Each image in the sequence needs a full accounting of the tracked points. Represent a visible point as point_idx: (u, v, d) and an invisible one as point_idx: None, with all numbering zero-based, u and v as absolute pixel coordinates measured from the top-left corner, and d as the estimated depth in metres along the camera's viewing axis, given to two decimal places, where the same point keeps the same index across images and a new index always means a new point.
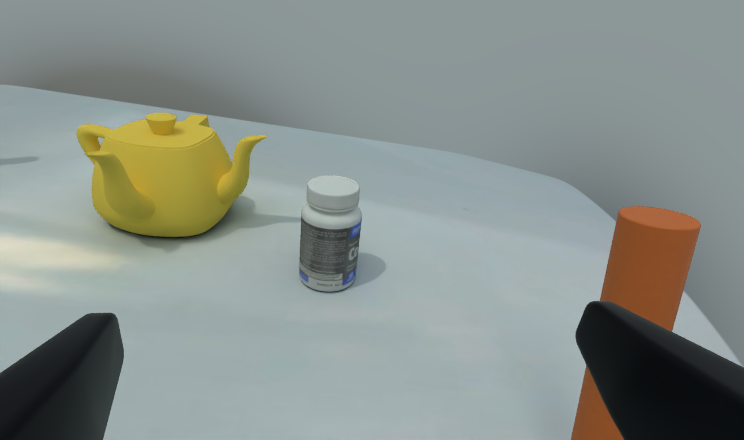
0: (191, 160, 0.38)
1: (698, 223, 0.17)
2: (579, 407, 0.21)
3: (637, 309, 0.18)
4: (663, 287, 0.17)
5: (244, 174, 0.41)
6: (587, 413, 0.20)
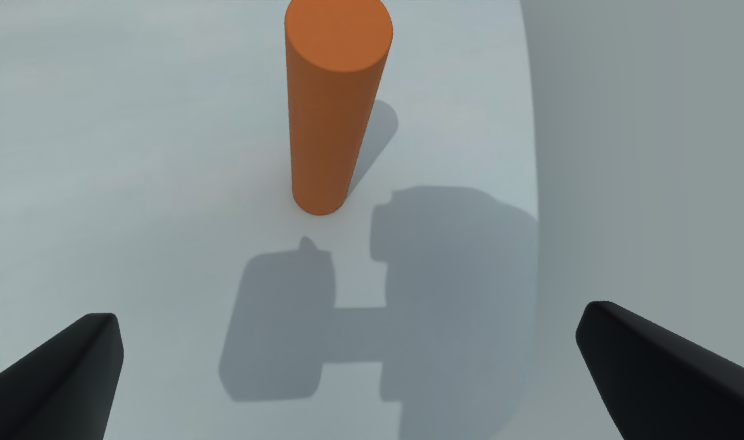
0: None
1: (387, 42, 0.12)
2: (291, 168, 0.20)
3: (317, 132, 0.14)
4: (342, 118, 0.13)
5: None
6: (295, 180, 0.20)
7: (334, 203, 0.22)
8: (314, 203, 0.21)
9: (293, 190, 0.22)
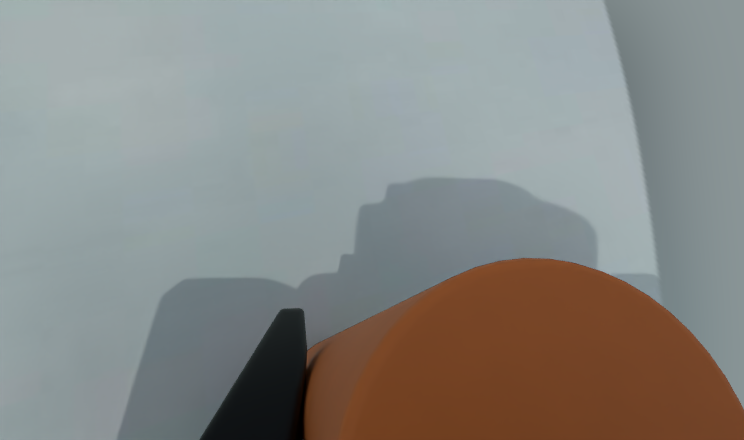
0: None
1: None
2: None
3: None
4: None
5: None
6: None
7: None
8: None
9: None
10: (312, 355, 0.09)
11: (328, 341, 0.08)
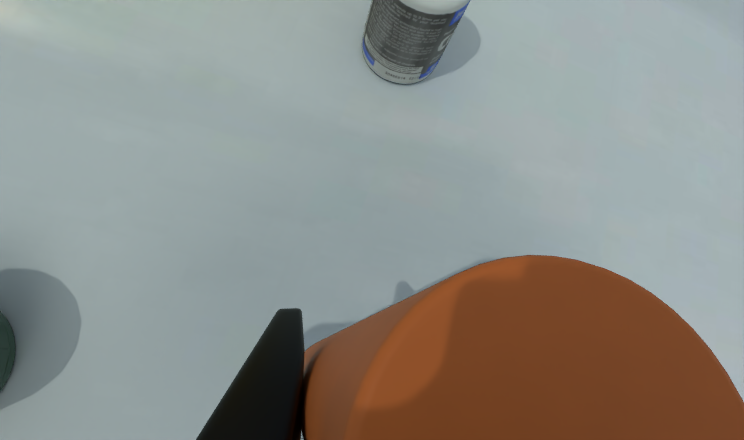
0: None
1: None
2: None
3: None
4: None
5: None
6: None
7: None
8: None
9: None
10: (312, 354, 0.09)
11: (328, 340, 0.08)
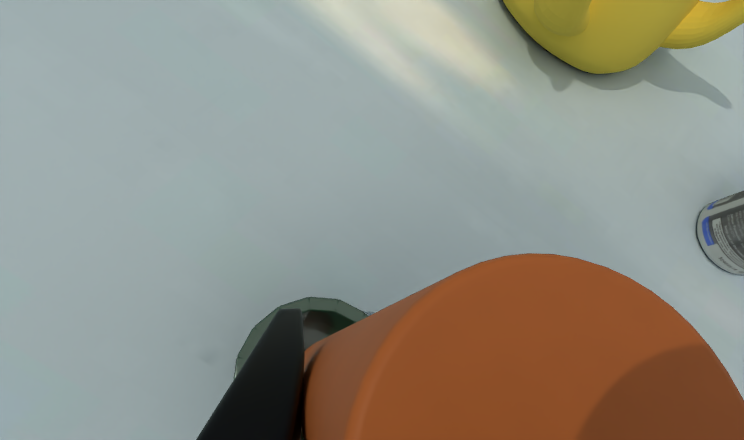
0: None
1: None
2: None
3: None
4: None
5: (732, 29, 0.25)
6: None
7: None
8: None
9: None
10: (312, 353, 0.09)
11: (328, 339, 0.08)
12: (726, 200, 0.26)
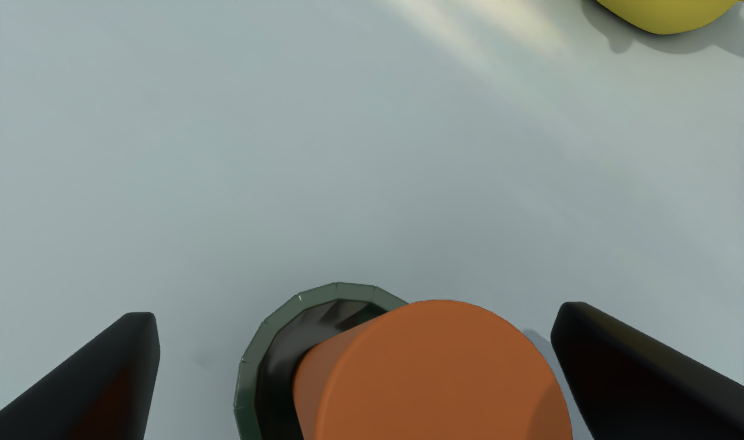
0: None
1: None
2: None
3: None
4: None
5: None
6: None
7: None
8: None
9: None
10: (307, 357, 0.11)
11: (319, 345, 0.10)
12: None
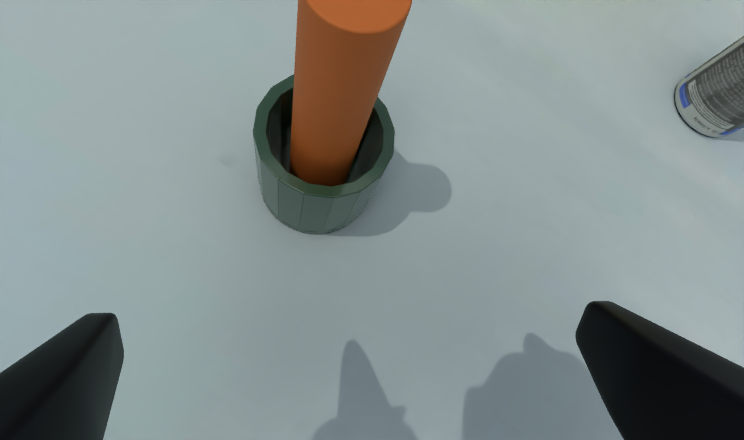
0: None
1: (407, 5, 0.11)
2: (290, 152, 0.20)
3: (325, 106, 0.14)
4: (354, 89, 0.13)
5: None
6: (294, 164, 0.19)
7: None
8: None
9: None
10: None
11: None
12: (701, 65, 0.28)
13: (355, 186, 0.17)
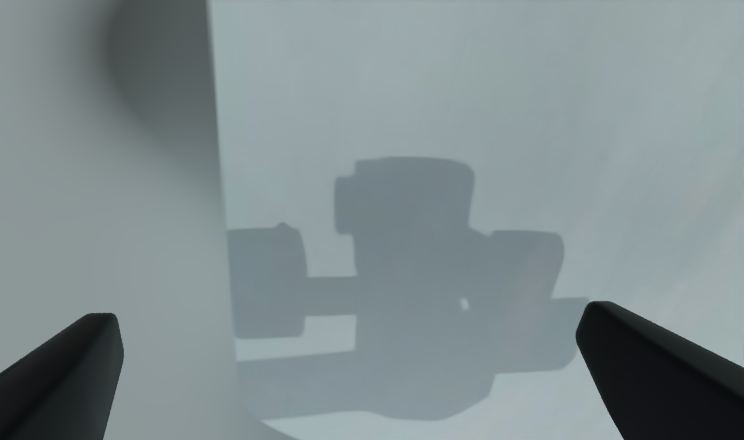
0: None
1: None
2: None
3: None
4: None
5: None
6: None
7: None
8: None
9: None
10: None
11: None
12: None
13: None
